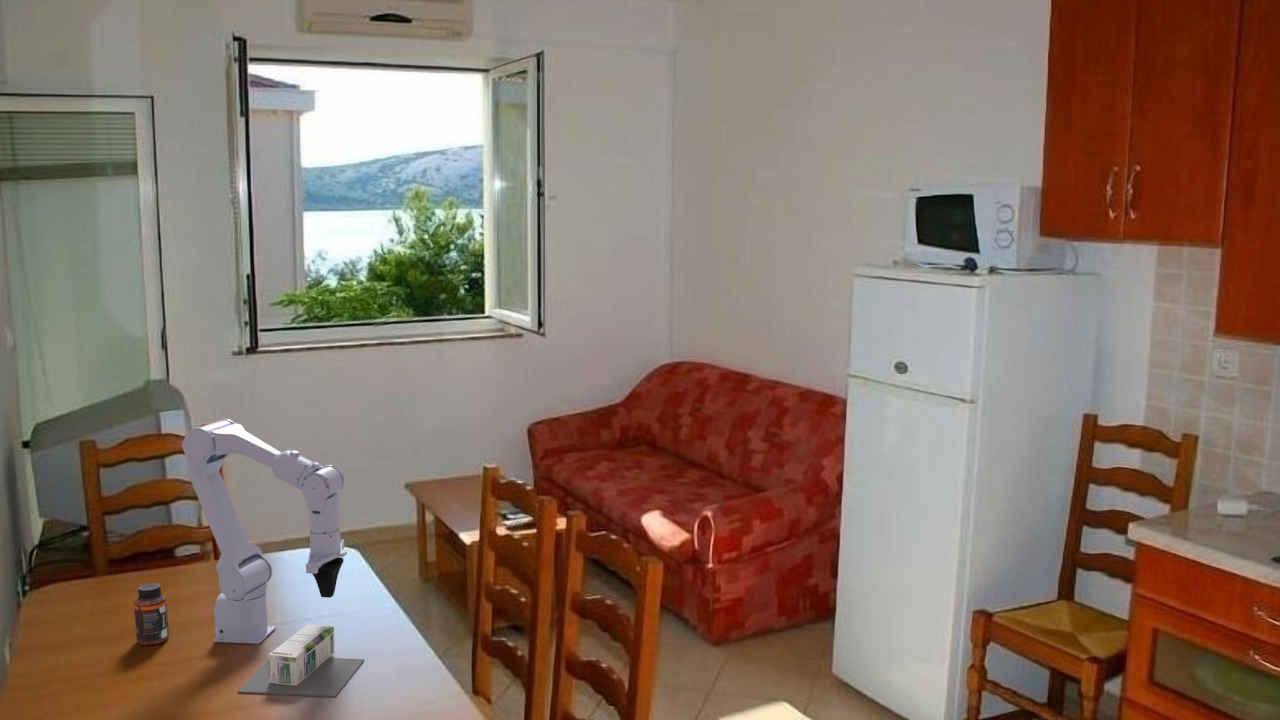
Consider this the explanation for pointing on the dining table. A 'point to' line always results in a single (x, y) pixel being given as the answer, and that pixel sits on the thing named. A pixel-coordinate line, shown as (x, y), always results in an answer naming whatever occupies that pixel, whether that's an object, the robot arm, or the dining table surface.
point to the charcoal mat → (307, 680)
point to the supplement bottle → (151, 615)
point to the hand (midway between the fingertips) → (327, 596)
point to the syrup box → (301, 654)
